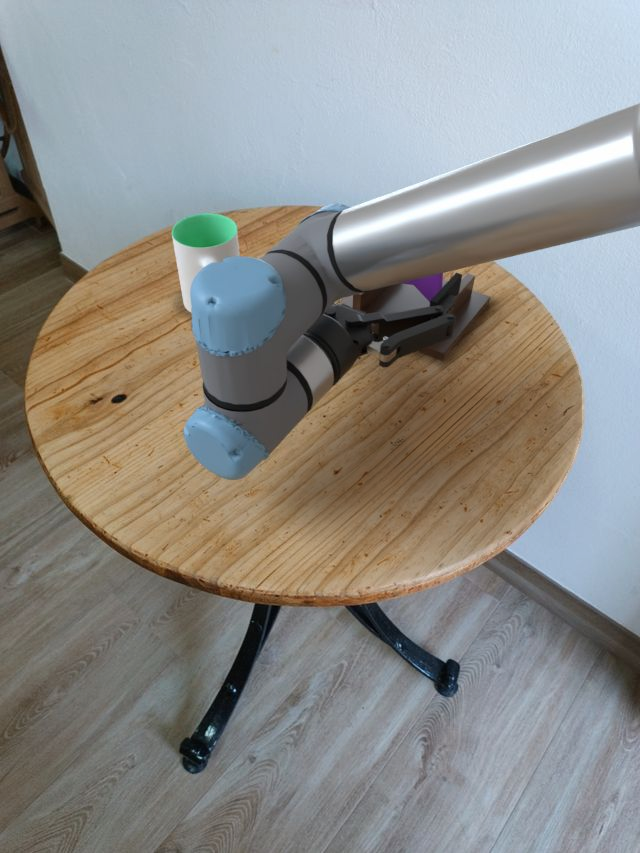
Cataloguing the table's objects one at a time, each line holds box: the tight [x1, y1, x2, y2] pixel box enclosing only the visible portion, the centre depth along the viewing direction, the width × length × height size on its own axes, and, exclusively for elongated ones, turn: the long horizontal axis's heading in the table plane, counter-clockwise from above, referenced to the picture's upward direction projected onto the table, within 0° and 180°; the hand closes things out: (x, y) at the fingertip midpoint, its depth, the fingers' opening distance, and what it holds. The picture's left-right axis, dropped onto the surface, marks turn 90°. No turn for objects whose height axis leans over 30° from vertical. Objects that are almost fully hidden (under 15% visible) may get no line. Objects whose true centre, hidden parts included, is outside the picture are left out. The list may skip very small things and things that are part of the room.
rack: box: [337, 272, 491, 362], centre depth 90 cm, size 16×14×4 cm
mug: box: [171, 212, 241, 314], centre depth 88 cm, size 12×8×10 cm
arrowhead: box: [402, 273, 444, 302], centre depth 87 cm, size 10×2×10 cm, turn 68°
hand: (406, 264), depth 83 cm, fingers open, 13 cm apart
